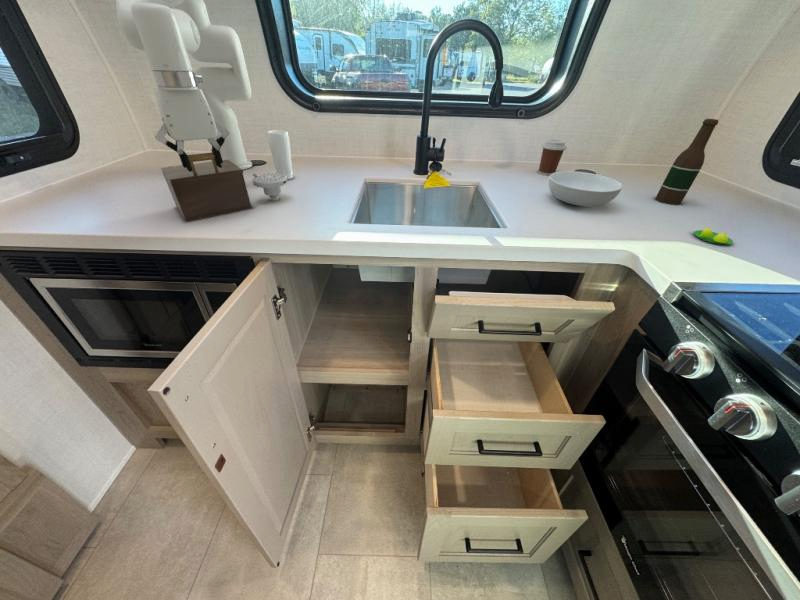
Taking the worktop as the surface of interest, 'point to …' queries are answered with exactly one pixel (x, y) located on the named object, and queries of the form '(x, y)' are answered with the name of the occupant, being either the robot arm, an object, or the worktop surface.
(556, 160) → the coffee cup
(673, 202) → the beer bottle
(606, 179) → the serving bowl
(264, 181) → the showerhead
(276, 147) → the drinking glass
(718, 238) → the green disc yellow mounds
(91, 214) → the worktop surface
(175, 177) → the lid
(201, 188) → the chest
